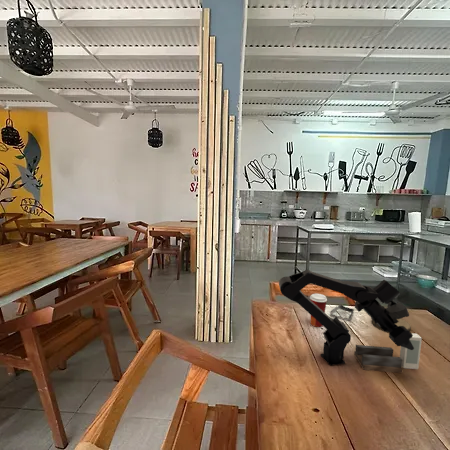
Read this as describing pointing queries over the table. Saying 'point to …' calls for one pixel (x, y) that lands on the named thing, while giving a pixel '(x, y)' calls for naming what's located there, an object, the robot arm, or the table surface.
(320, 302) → the paper cup
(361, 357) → the display ledge
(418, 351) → the cream slab
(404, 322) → the brown round disc
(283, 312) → the table surface
